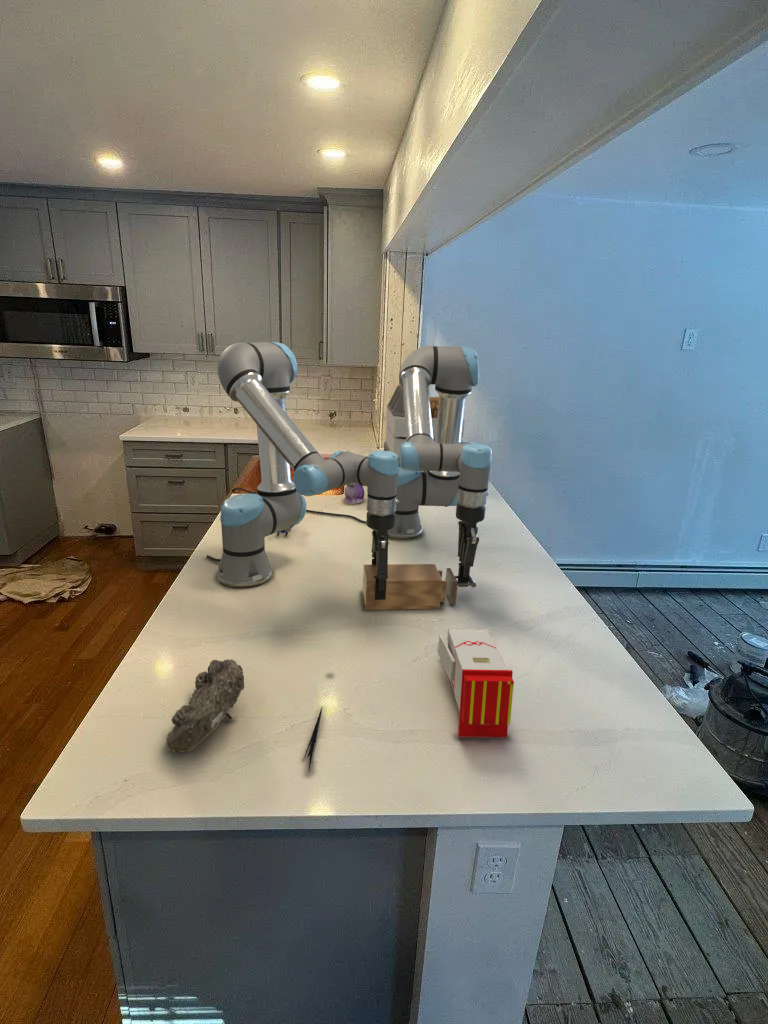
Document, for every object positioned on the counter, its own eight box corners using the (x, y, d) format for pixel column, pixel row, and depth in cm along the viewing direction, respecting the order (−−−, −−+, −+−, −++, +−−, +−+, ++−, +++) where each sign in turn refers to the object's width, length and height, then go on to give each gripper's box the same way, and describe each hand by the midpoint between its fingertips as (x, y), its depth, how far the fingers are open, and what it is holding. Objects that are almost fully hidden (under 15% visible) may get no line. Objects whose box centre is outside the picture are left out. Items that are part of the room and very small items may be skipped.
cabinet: (432, 591, 160) (435, 563, 157) (439, 608, 151) (442, 580, 148) (362, 592, 158) (363, 564, 155) (365, 610, 149) (366, 580, 146)
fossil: (192, 660, 117) (244, 628, 112) (224, 691, 120) (276, 661, 115) (142, 746, 98) (202, 712, 93) (182, 779, 101) (242, 748, 96)
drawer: (468, 588, 161) (470, 567, 158) (476, 603, 152) (478, 582, 150) (382, 589, 158) (384, 568, 155) (386, 605, 150) (387, 583, 147)
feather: (331, 679, 122) (336, 673, 122) (307, 777, 96) (313, 769, 95) (324, 675, 122) (329, 669, 121) (298, 772, 95) (304, 764, 95)
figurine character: (291, 542, 192) (296, 522, 205) (290, 522, 188) (296, 503, 202) (271, 542, 191) (278, 521, 205) (270, 522, 188) (277, 502, 201)
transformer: (382, 463, 289) (386, 382, 275) (445, 464, 293) (451, 384, 279) (390, 482, 257) (394, 392, 243) (460, 483, 261) (468, 394, 247)
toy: (488, 613, 130) (523, 677, 101) (484, 667, 133) (517, 744, 104) (435, 612, 130) (455, 676, 101) (432, 666, 133) (451, 743, 103)
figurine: (348, 506, 225) (349, 469, 220) (338, 498, 233) (339, 463, 228) (369, 503, 229) (371, 467, 224) (359, 496, 237) (360, 461, 232)
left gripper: (402, 527, 135) (397, 610, 143) (390, 497, 156) (387, 570, 164) (370, 528, 134) (367, 610, 142) (363, 497, 155) (361, 571, 163)
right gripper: (492, 512, 141) (482, 597, 149) (478, 496, 154) (470, 575, 162) (462, 512, 141) (454, 597, 149) (451, 496, 153) (444, 575, 161)
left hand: (378, 589), depth 153 cm, fingers closed on cabinet, 10 cm apart
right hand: (462, 585), depth 155 cm, fingers closed
